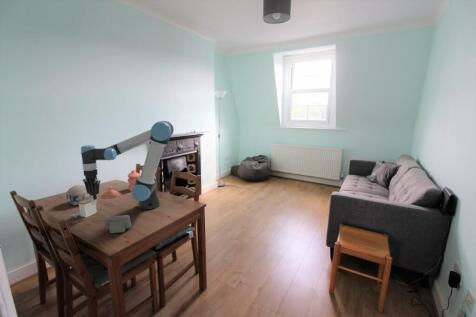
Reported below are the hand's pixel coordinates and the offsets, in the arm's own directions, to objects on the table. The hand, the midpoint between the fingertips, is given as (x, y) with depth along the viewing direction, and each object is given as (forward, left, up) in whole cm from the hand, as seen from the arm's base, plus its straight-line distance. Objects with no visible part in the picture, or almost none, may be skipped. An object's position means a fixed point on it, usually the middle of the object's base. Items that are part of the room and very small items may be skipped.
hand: (94, 204), depth 154 cm
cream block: (+6, 0, -9) cm, 11 cm away
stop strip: (+11, 0, -9) cm, 14 cm away
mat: (+17, 0, -9) cm, 19 cm away
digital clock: (-29, +9, -9) cm, 32 cm away
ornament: (+30, -11, -9) cm, 33 cm away
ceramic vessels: (+18, -37, -9) cm, 42 cm away
